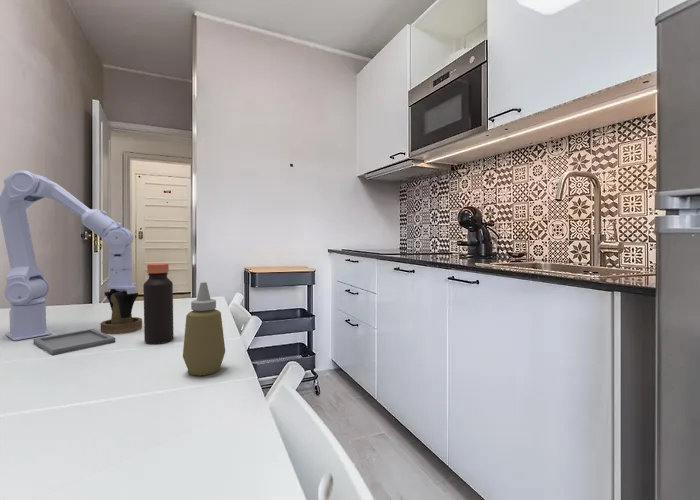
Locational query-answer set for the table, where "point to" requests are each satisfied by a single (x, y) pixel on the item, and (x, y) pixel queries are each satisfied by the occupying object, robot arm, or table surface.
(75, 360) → the table surface
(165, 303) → the vinegar
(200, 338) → the squeeze bottle
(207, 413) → the table surface
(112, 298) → the pepper mill
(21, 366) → the table surface
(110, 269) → the robot arm
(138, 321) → the ring
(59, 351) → the tray
